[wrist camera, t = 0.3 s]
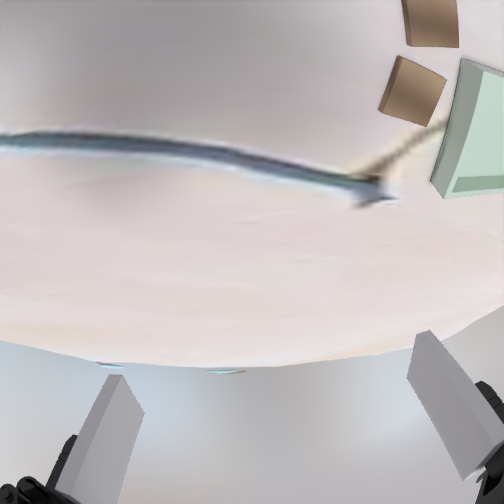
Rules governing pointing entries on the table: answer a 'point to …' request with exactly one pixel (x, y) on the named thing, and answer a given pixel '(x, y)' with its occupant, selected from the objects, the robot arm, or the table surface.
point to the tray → (473, 136)
